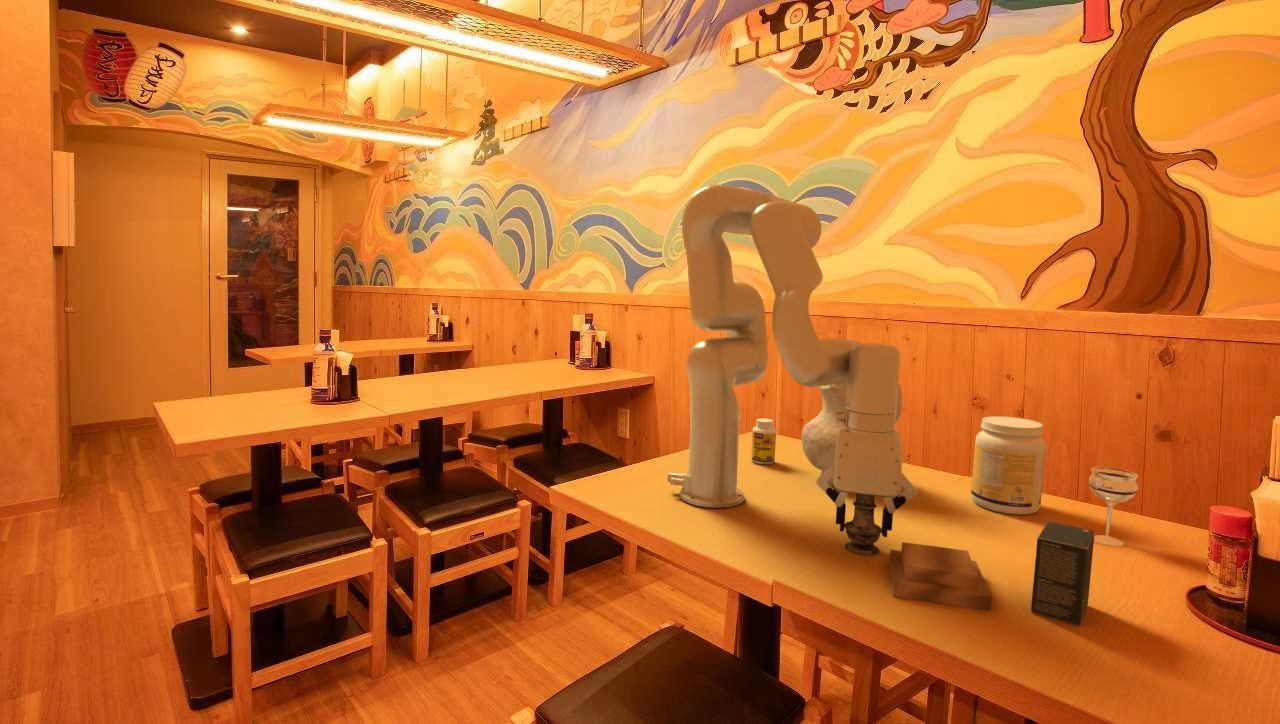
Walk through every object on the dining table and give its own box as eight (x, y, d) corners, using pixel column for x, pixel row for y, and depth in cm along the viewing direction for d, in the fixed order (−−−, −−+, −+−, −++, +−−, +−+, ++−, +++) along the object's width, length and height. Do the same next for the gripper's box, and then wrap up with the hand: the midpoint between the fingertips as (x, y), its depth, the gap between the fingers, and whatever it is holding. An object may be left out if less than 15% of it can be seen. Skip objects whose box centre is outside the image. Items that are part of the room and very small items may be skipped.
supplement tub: (990, 492, 140) (997, 413, 138) (1052, 509, 130) (1060, 424, 128) (957, 502, 133) (964, 418, 131) (1020, 520, 123) (1028, 431, 121)
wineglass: (1122, 536, 116) (1130, 469, 115) (1137, 550, 110) (1145, 480, 108) (1077, 530, 118) (1084, 465, 117) (1089, 544, 112) (1097, 475, 110)
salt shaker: (883, 557, 105) (888, 483, 103) (844, 553, 106) (849, 480, 104) (878, 543, 110) (882, 473, 109) (841, 540, 111) (845, 470, 110)
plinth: (893, 596, 92) (895, 568, 91) (889, 562, 103) (891, 537, 103) (990, 611, 88) (993, 582, 88) (974, 573, 99) (977, 548, 99)
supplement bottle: (748, 463, 157) (750, 421, 156) (753, 458, 163) (755, 416, 161) (772, 466, 156) (774, 423, 154) (776, 460, 161) (778, 419, 159)
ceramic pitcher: (915, 489, 144) (926, 374, 143) (880, 503, 130) (892, 375, 128) (822, 469, 158) (832, 365, 157) (782, 480, 144) (791, 365, 142)
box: (1040, 592, 94) (1047, 520, 93) (1088, 605, 90) (1096, 530, 89) (1029, 612, 88) (1036, 535, 87) (1079, 627, 84) (1088, 547, 83)
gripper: (812, 421, 104) (806, 532, 107) (931, 431, 99) (922, 547, 102) (815, 413, 112) (809, 516, 114) (926, 421, 106) (918, 530, 109)
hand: (863, 530), depth 108 cm, fingers closed on salt shaker, 5 cm apart
